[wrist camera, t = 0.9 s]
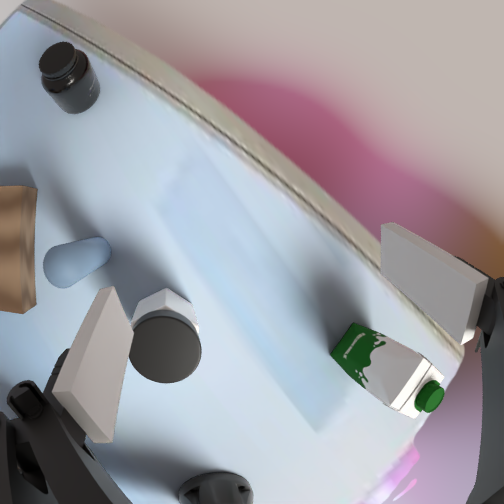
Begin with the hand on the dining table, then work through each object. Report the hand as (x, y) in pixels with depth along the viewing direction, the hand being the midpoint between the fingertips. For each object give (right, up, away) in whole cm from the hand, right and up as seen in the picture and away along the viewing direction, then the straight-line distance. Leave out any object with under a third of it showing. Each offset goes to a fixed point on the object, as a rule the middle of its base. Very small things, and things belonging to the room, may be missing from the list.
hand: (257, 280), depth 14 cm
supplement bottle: (-26, +25, +21) cm, 41 cm away
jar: (-13, -8, +28) cm, 32 cm away
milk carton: (+18, -16, +37) cm, 44 cm away
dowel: (-22, +1, +24) cm, 33 cm away
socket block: (-40, +2, +19) cm, 44 cm away
